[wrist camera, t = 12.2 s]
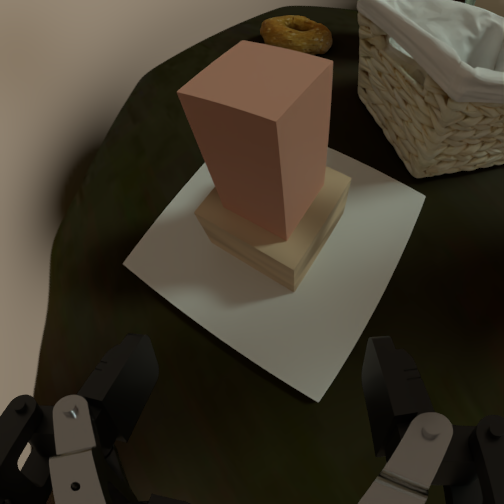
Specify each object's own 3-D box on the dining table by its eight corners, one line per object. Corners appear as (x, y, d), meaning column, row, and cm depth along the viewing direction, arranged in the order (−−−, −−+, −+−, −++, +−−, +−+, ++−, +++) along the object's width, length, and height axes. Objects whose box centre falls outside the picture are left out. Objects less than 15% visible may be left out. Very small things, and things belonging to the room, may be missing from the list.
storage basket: (475, 85, 32) (500, 11, 18) (538, 167, 25) (588, 93, 12) (343, 92, 32) (349, -16, 19) (409, 199, 26) (466, 73, 12)
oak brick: (264, 174, 28) (258, 136, 23) (343, 213, 25) (351, 178, 20) (211, 242, 26) (193, 212, 21) (294, 292, 23) (293, 270, 18)
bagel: (311, 67, 35) (311, 38, 31) (248, 49, 39) (244, 24, 35) (343, 43, 38) (344, 18, 33) (285, 28, 41) (283, 5, 37)
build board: (249, 121, 32) (248, 116, 31) (422, 200, 25) (425, 196, 25) (126, 266, 27) (122, 263, 26) (317, 401, 20) (318, 402, 20)
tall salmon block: (263, 157, 22) (242, 40, 13) (323, 184, 21) (333, 61, 11) (223, 207, 21) (176, 91, 12) (286, 241, 19) (276, 121, 10)
